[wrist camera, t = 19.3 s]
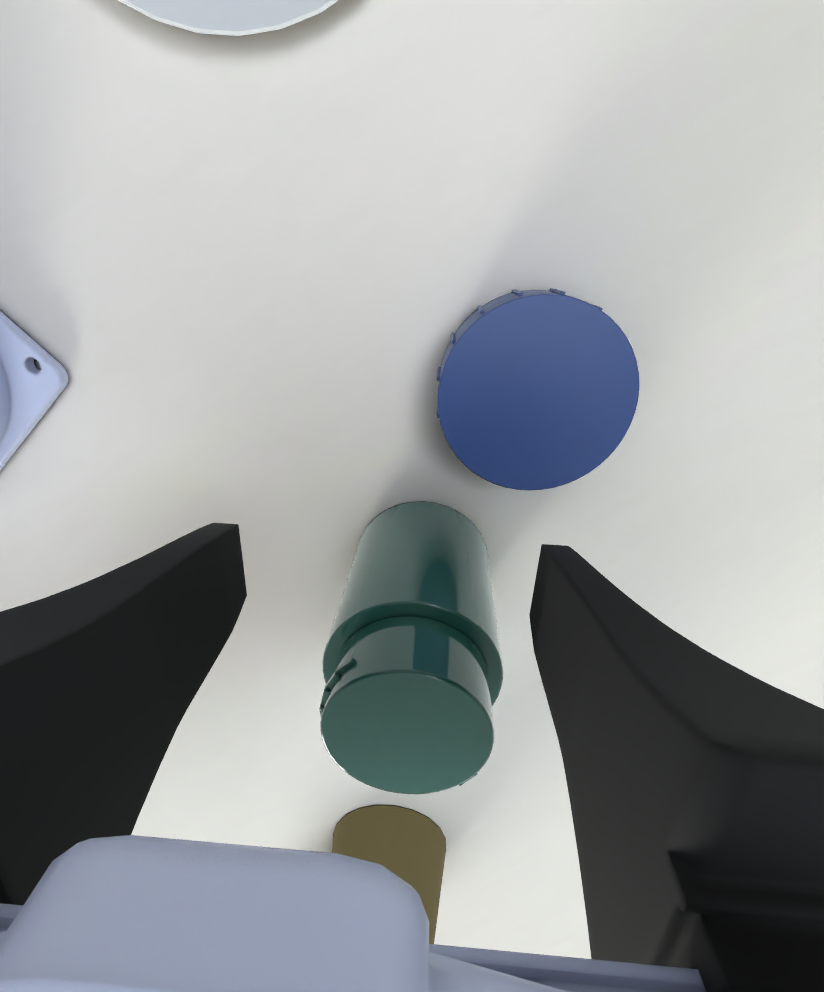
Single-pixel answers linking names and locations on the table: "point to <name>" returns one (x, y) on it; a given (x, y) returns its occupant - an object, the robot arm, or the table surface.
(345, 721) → the jar
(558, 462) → the lid
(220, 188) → the table surface
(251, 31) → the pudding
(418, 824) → the cork
